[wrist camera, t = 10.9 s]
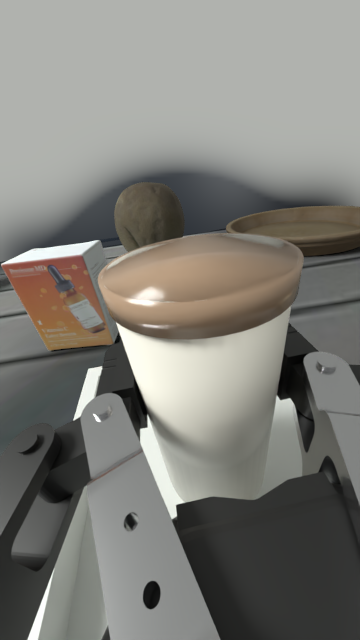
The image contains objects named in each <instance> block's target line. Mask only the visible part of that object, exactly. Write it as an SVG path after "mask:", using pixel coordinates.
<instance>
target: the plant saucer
mask: <svg viewBox="0 0 360 640" xmlns="http://www.w3.org/2000/svg"><path fill="white" fill-rule="evenodd" d="M226 231H227V233H245V234H257V235H265V236H270V237H275V238H279V239H282V240H285V241H288V242H290V243H292V244H294V245H295V246H296V247H298V248H299V249H300V250H301V252H302V254H303V256H318V255H326V254H334V253H340V252H344V251H348V250H352V249H355V248H357V247H360V207H354V206H312V207H299V208H288V209H281V210H273V211H267V212H261V213H256V214H252V215H249V216H245V217H241V218H239V219H236V220H234V221H232V222H230V223H229V224H228V225H227V227H226Z"/></svg>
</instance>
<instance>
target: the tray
mask: <svg viewBox="0 0 360 640" xmlns="http://www.w3.org/2000/svg"><path fill="white" fill-rule="evenodd" d="M101 370H102V367H96V368H91V369H88V373H87V376H86V379H85V383H84V386H83V390H82V393H81V396H80V400H79V403H78V407H77V410H76V413H75V417H74V420H76V419H77V418H79V417H80V416H81V414H82V411H83V409H84V408H85V406H86V405H87V404H88V403H89V402H90V401H91V400H92V399H94V398H95V397H96V392H97V388H98V384H99V379H100V375H101ZM293 404H294V403H293V402H292V400H291V399H290V398H289V399H285V400H280V399H279V397H278V396H277V398H276V404H275V410H274V417H273V423H272V429H271V435H270V442H269V448H268V454H267V461H266V467H265V473H264V479H263V483H262V486H261V489H260V491H259V493H258V495H257V496H256V498H255V499H258V498H260V497H261V496H263V495H264V494H266V493H268V492H269V491H271V490H272V489H274V488H275V487H277V486H279V485H280V484H282V483H283V482H285V481H286V480H288V479H292V478H297V477H301V476H302V455H301V450H300V445H299V440H298V435H297V430H296V425H295V420H294V415H293ZM147 417H148V414H147ZM74 420H73V421H74ZM140 443H141V446H142V448H143V451H144V453H145V456H146V458H147V460H148V463H149V465H150V468H151V470H152V473H153V475H154V477H155V480H156V482H157V485H158V487H159V490H160V492H161V494H162V497H163V499H164V502H165V504H166V506H167V509H168V511H169V514H170V516H171V518H172V519H173V518H175V517H176V516H177V511H176V505H177V504H181V503H185V502H184V501H183V500H182V499H181V498H180V497H179V495H178V494H177V493H176V491H175V489H174V487H173V485H172V483H171V481H170V478H169V475H168V472H167V469H166V466H165V463H164V461H163V458H162V455H161V452H160V449H159V446H158V443H157V440H156V437H155V434H154V431H153V429H152V426H151V423H150V420H149V417H148V427H147V428H142V429H140ZM255 499H254V500H255ZM107 626H108V621H107V615H106V609H105V603H104V596H103V590H102V584H101V578H100V571H99V565H98V559H97V553H96V546H95V540H94V534H93V528H92V521H91V515H90V509H89V503H88V496H87V485H86V486H85V487H84V489H83V492H82V495H81V497H80V500H79V503H78V505H77V508H76V511H75V513H74V516H73V519H72V521H71V524H70V527H69V529H68V532H67V535H66V538H65V540H64V543H63V546H62V548H61V551H60V554H59V556H58V559H57V562H56V564H55V567H54V570H53V572H52V575H51V578H50V580H49V583H48V586H47V589H46V591H45V594H44V597H43V599H42V602H41V605H40V607H39V610H38V613H37V615H36V618H35V621H34V623H33V626H32V629H31V632H30V634H29V637H28V640H101V639H102V637H103V635H104V633H105V630H106V628H107Z"/></svg>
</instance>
